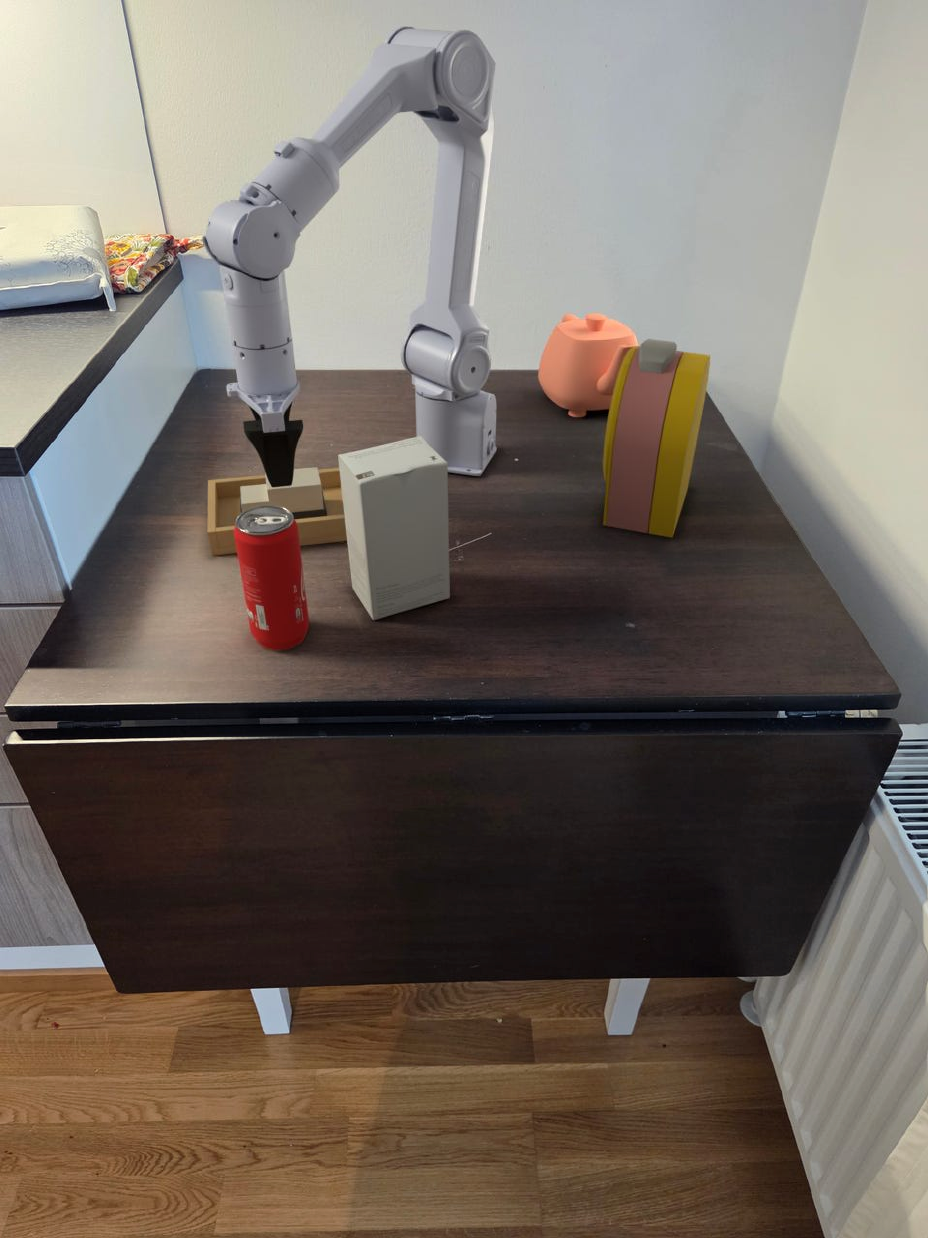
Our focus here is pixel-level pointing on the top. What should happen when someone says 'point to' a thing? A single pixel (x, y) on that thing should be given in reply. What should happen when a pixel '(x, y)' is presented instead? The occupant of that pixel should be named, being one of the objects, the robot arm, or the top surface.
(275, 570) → the beverage can
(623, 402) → the alarm clock
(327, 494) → the tray
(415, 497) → the cosmetic box
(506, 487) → the top surface
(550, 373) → the teapot
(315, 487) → the two-tone beige block
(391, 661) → the top surface
